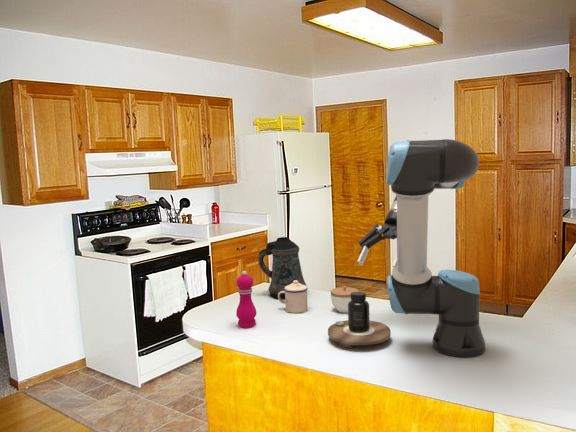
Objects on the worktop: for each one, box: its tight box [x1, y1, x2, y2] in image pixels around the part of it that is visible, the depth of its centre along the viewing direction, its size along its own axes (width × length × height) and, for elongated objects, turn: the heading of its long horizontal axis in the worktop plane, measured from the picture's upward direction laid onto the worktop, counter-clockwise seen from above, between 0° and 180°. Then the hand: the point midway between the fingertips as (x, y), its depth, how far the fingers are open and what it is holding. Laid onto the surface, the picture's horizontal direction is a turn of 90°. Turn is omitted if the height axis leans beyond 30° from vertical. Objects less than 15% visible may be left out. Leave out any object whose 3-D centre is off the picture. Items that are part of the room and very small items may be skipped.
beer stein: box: [257, 236, 307, 301], centre depth 213 cm, size 16×19×25 cm
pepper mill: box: [235, 270, 257, 329], centre depth 177 cm, size 7×7×20 cm
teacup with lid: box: [277, 280, 309, 314], centre depth 193 cm, size 12×9×12 cm
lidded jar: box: [330, 285, 360, 314], centre depth 190 cm, size 11×11×9 cm
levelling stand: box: [327, 319, 391, 350], centre depth 161 cm, size 20×20×4 cm
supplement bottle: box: [347, 291, 371, 333], centre depth 160 cm, size 7×7×12 cm
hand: (376, 265), depth 167 cm, fingers open, 13 cm apart
